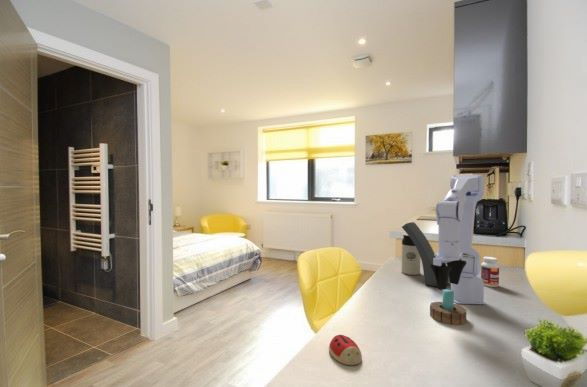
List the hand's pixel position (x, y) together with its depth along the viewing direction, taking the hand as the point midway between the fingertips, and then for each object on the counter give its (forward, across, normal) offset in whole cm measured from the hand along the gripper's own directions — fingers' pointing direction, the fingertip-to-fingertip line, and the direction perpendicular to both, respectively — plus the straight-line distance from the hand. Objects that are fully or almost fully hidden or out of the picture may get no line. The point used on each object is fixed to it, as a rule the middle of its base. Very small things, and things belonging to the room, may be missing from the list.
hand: (448, 286), depth 91 cm
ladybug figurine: (+10, +40, -5) cm, 41 cm away
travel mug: (+10, -36, -34) cm, 50 cm away
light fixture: (+10, -28, -22) cm, 37 cm away
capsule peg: (+10, 0, 0) cm, 10 cm away
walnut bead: (+10, 0, 0) cm, 10 cm away
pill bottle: (+10, -46, -5) cm, 47 cm away
